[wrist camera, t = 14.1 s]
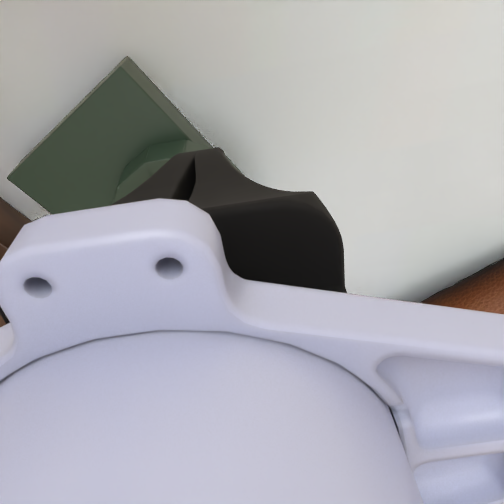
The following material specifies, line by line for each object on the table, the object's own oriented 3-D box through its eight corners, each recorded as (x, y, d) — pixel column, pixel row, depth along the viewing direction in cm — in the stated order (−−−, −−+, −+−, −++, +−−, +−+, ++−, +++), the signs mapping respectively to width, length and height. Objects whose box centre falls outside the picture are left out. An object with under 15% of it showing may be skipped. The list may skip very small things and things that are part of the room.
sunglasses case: (322, 423, 37) (314, 473, 31) (279, 346, 37) (262, 381, 31) (550, 327, 32) (598, 362, 26) (502, 238, 32) (537, 252, 26)
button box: (20, 161, 24) (-12, 198, 21) (139, 43, 21) (124, 64, 18) (161, 276, 29) (153, 321, 25) (273, 193, 26) (281, 231, 23)
